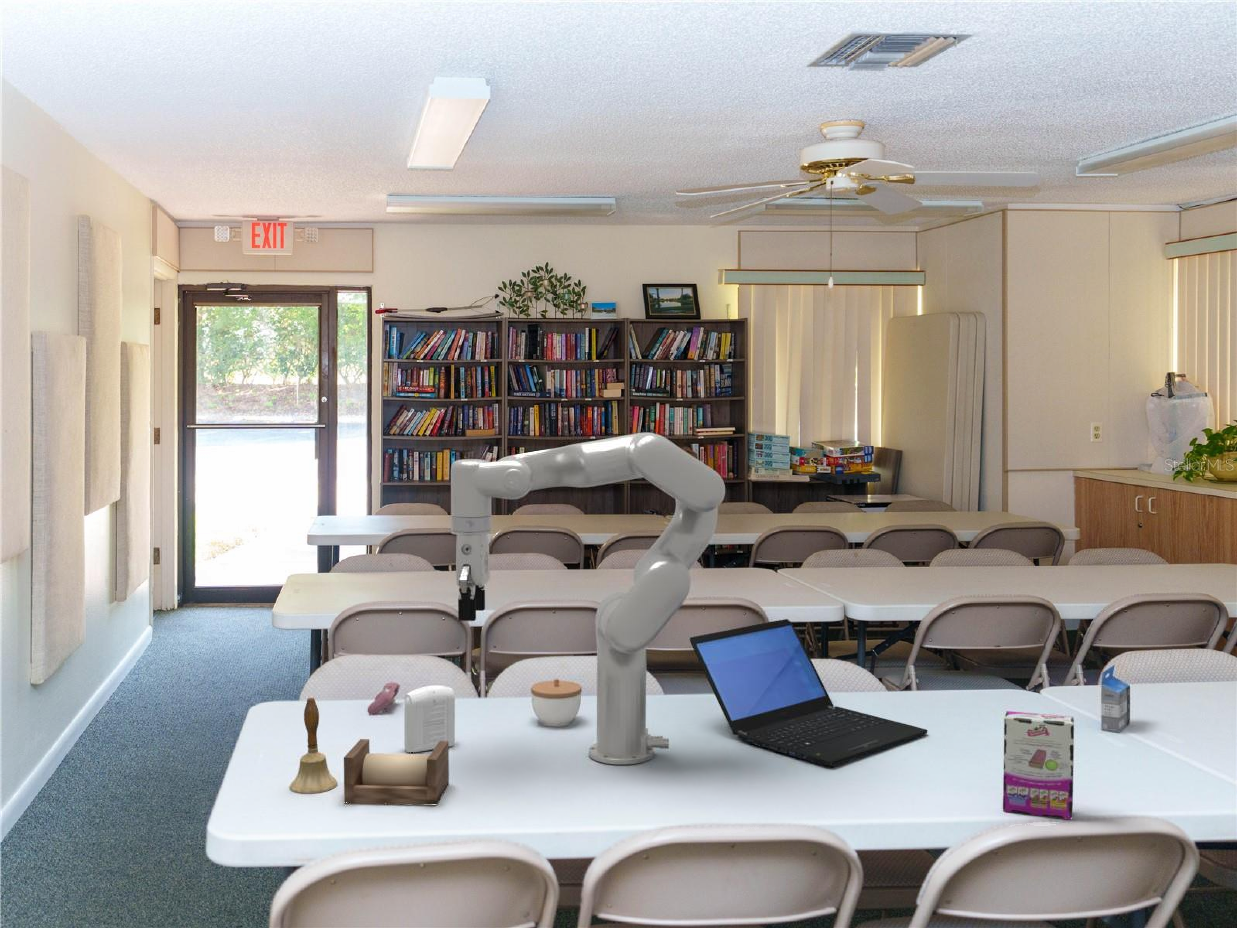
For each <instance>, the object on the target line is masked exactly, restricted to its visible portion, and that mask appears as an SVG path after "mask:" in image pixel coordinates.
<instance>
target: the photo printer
mask: <svg viewBox="0 0 1237 928" xmlns="http://www.w3.org/2000/svg"><path fill="white" fill-rule="evenodd" d="M455 703H456V698H455V691H454V690H453V688H451V687H449V686H445V685H435V684H434V685H427V686H423V687H418V688H416V689H414V690H412V691H408V693H406V694H405V697H404V751H405V752H406V753H409V752H410V753H409V754H412V753H411V752H413V753H419V752H425V751H430V750H432V751H433V750H434V748H435V747H436V745H437V744H438V743H439V741H449V747H453V746H455V743H456V742H455V740H456V738H455V735H456V734H455V733H456V732H455V730H456V729H455V726H456V725H455V721H456V720H455V719H456V714H455V713H456V705H455Z"/></svg>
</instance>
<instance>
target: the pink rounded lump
mask: <svg viewBox="0 0 1237 928" xmlns="http://www.w3.org/2000/svg"><path fill="white" fill-rule="evenodd" d="M400 688H401V685H400V684H399V683H397V682H392V681H391V682H388V683H386V684H384V686H383V688H382V691H380V692H379V693H378V694H377V695H376V696H375V698H374V701H372V702H371V703H370V704H369V706H368V707H367V713H368V714H369V715H371V714H373V715H377V714H379V713H381V712H382V711H384V712H387V711H388V708H390V707H389V706H392V705H393V704H395V703H396V698H395V697H396V696H397V695H398V693H399V691H400Z"/></svg>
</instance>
